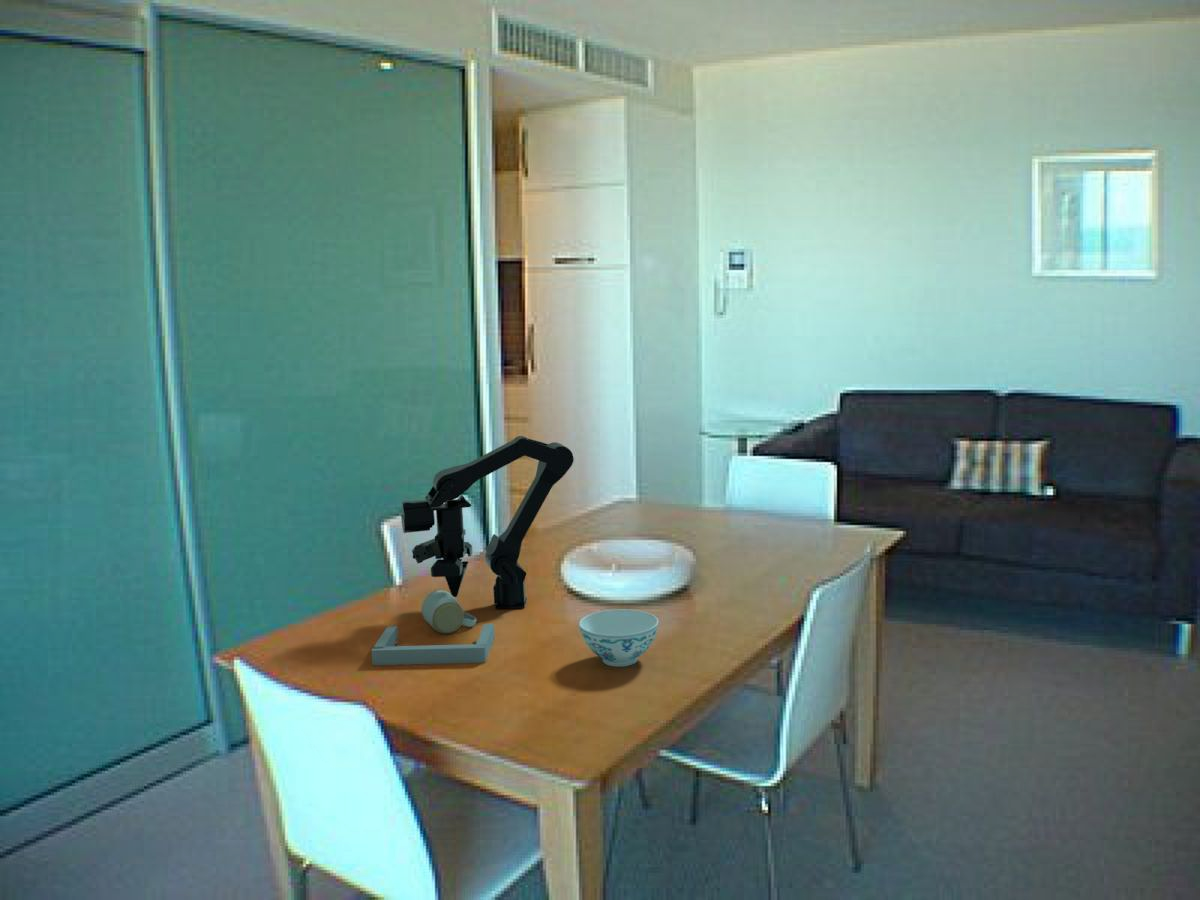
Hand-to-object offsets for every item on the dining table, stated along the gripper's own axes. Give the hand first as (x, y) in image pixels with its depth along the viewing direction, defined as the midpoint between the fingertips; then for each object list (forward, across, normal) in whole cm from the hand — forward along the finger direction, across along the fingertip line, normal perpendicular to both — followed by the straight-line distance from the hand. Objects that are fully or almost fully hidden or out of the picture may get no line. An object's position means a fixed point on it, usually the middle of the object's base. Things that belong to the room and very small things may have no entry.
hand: (454, 596), depth 240 cm
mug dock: (+4, +24, 0) cm, 24 cm away
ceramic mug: (+4, +11, +1) cm, 11 cm away
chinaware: (+4, +32, +37) cm, 49 cm away
